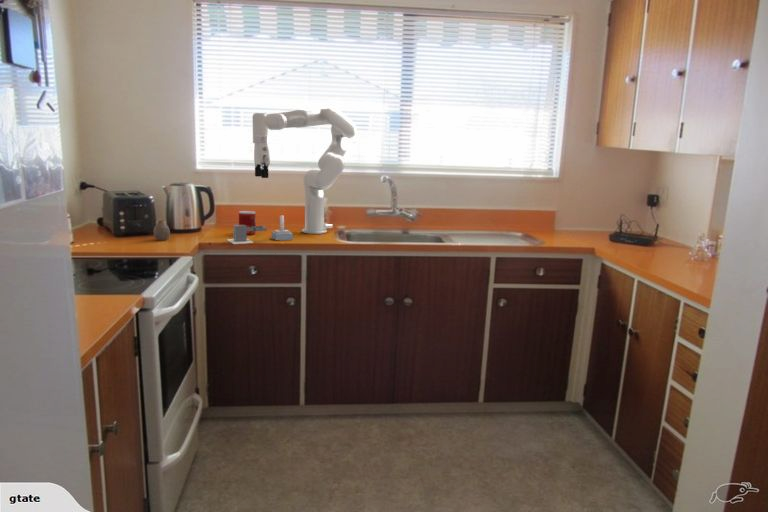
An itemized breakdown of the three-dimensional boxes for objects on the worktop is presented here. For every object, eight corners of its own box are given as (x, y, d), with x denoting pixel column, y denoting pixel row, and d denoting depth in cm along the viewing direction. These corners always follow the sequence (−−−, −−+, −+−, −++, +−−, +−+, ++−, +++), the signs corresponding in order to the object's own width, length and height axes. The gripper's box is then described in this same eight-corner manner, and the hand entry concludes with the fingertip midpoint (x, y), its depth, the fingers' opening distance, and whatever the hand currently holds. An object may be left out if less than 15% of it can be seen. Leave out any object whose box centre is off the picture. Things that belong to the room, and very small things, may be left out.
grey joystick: (287, 237, 267) (287, 214, 265) (292, 239, 261) (292, 216, 259) (271, 238, 263) (271, 215, 261) (276, 240, 257) (276, 217, 255)
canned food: (253, 235, 269) (253, 213, 267) (237, 234, 269) (236, 212, 267) (257, 232, 276) (257, 211, 274) (241, 232, 276) (241, 210, 274)
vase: (150, 240, 249) (149, 220, 247) (162, 238, 255) (161, 219, 253) (161, 241, 246) (160, 222, 244) (173, 239, 252) (172, 220, 250)
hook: (236, 241, 249) (235, 226, 247) (233, 240, 253) (232, 224, 252) (266, 240, 256) (266, 225, 254) (263, 238, 260) (262, 223, 259)
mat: (246, 238, 259) (246, 238, 259) (253, 243, 250) (253, 242, 250) (227, 240, 255) (227, 239, 254) (233, 244, 245) (233, 243, 245)
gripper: (274, 140, 254) (275, 178, 257) (263, 140, 268) (263, 175, 272) (258, 140, 250) (259, 178, 253) (247, 139, 265) (248, 175, 268)
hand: (261, 177), depth 263 cm, fingers open, 9 cm apart
